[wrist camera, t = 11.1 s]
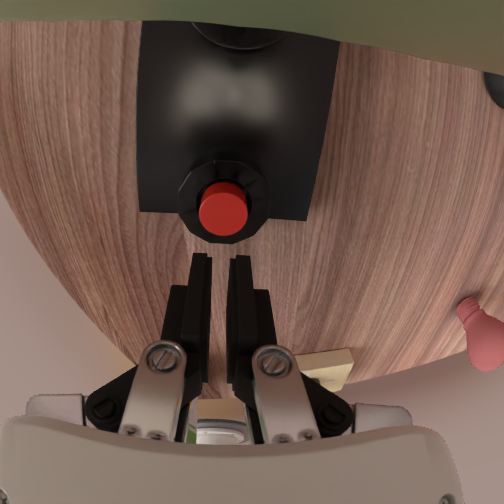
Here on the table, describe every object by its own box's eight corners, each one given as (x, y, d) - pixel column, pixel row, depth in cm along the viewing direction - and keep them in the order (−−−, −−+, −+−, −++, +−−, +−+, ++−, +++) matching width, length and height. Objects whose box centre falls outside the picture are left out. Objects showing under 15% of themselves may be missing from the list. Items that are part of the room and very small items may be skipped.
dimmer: (259, 386, 38) (261, 402, 36) (258, 358, 34) (260, 376, 31) (337, 377, 39) (340, 391, 37) (349, 347, 34) (354, 363, 32)
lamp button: (244, 223, 18) (245, 237, 17) (201, 220, 18) (198, 235, 16) (248, 182, 17) (250, 194, 15) (202, 180, 16) (199, 191, 15)
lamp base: (297, 220, 23) (308, 248, 19) (148, 212, 21) (134, 239, 18) (335, -12, 12) (358, -28, 8) (160, -28, 10) (145, -47, 7)
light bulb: (467, 314, 34) (501, 371, 24) (437, 323, 34) (471, 387, 24) (485, 281, 30) (527, 340, 20) (456, 288, 30) (499, 356, 20)
